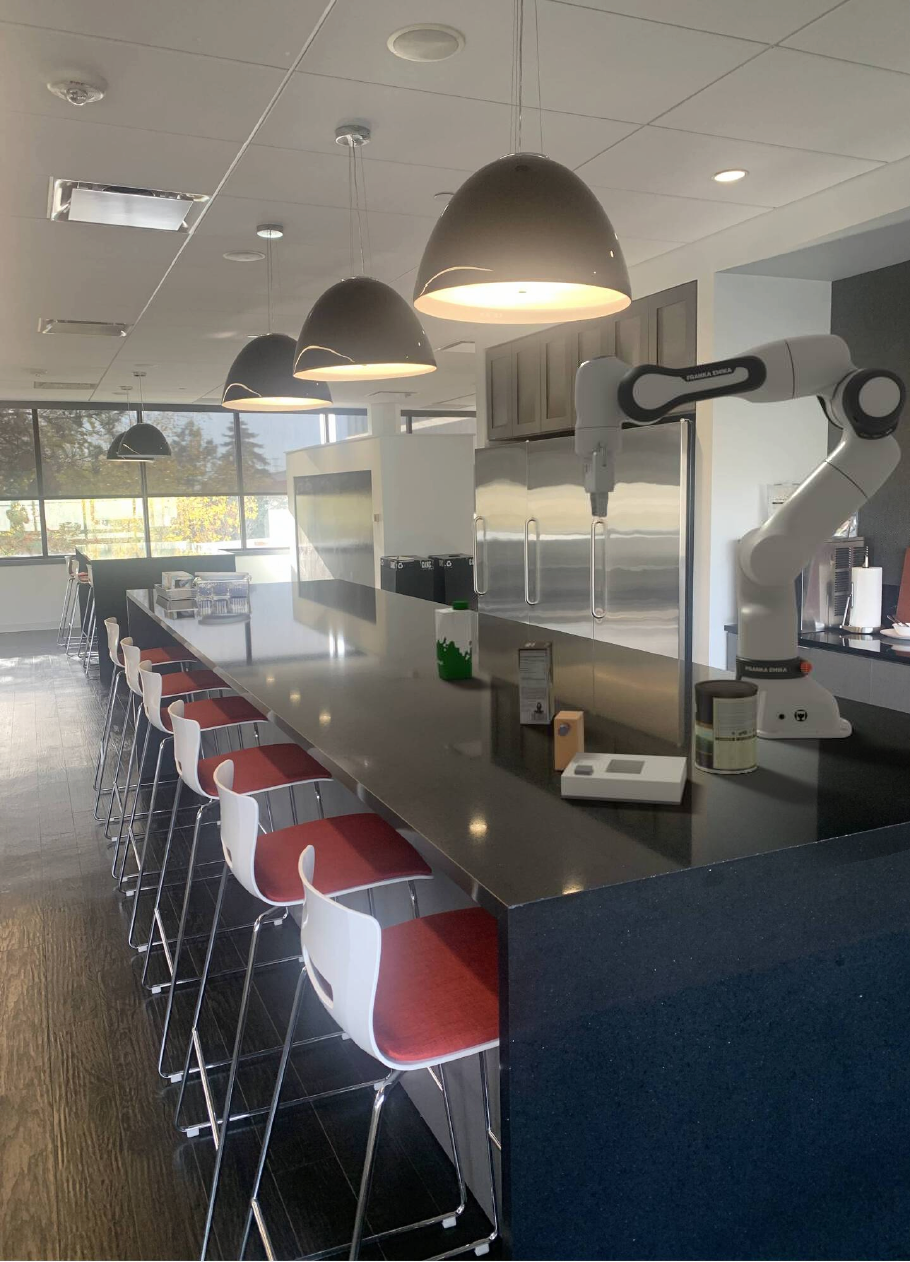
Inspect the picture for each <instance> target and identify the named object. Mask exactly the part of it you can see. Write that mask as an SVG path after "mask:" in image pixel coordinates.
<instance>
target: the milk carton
mask: <svg viewBox="0 0 910 1262" xmlns="http://www.w3.org/2000/svg"><path fill="white" fill-rule="evenodd" d="M434 616H435V639H436V640H435V641H436V643H435V645H436V661H437V662H436V664H437V671H438V676H439V677H441V678H442V679H444V680H445V681H453V680H462V679H471V678H473V646H472V645H473V643H472V610H471V609H470V608H469V602H468V600H455V601H452V607H450V608H442V609H435V610H434Z"/></svg>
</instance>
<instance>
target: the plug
mask: <svg viewBox="0 0 910 1262" xmlns="http://www.w3.org/2000/svg"><path fill="white" fill-rule="evenodd" d="M553 726H554V727H553V728H554V731H553V733H554V736H553V737H554V769H555V771H565V769H566V768H567V766H568V765H569V763H570V762H571V760H572V759H573V757H574V756H575V754H576V753H577V752H580V753H585V741H584V740H585V734H584V732H585V729H584V728H585V727H584V711H575V710H560V711H559V712H558V713H557V715H556V716H555V717H553Z"/></svg>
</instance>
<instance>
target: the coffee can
mask: <svg viewBox="0 0 910 1262" xmlns="http://www.w3.org/2000/svg"><path fill="white" fill-rule="evenodd" d="M757 691H758V685H756V684H754V683H751V682H747V681H741V680H735V679H709V680H708V679H707V680H702V681H699V682H695V684H694V720H695V721H694V724H695V725H694V727H695V728H694V733H695V734H694V738H695V739H694V742H695V743H694V747H695V748H694V750H695V751H694V754H695V758H694V767H695V768H696V769H698V770H699V769H700V771H702V772H704V771H705V773H708V772H709V773H708V774H713V773H718V774H717V775H721V774H739V773H746V774H748V773H747V772H750V773H753V772H754V771H756V770H757V769H758V765H757V752H758V751H757V743H758V742H757V739H758V736H757ZM755 769H756V770H755ZM753 770H754V771H753ZM752 771H753V772H752ZM719 773H720V774H719ZM739 775H740V774H739Z"/></svg>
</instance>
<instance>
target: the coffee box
mask: <svg viewBox="0 0 910 1262" xmlns="http://www.w3.org/2000/svg"><path fill="white" fill-rule="evenodd" d="M553 643H554V641H551V640H550V641H546V640H545V641H524V642H523V643H522V644H521V645H520V646H519V647H518V648H517V650H518V651H517V653H518V655H517V656H518V658H517V659H518V684H519V685H518V687H519V719H520V722H519V723H520V724H521V725H550V724H551V722H552V720H553V719H554V715H555V695H554V694H555V692H554V690H555V689H554V688H555V687H554V659H553V657H554V654H553V653H554V649H553Z"/></svg>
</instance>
